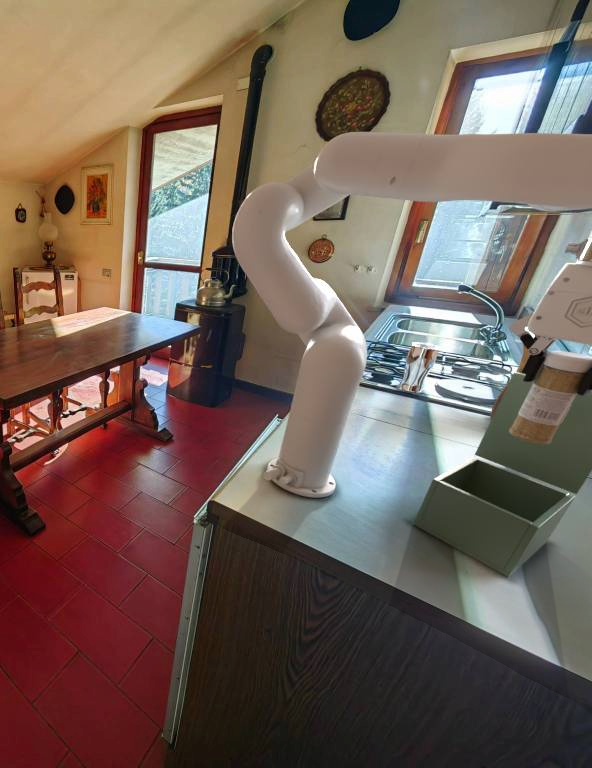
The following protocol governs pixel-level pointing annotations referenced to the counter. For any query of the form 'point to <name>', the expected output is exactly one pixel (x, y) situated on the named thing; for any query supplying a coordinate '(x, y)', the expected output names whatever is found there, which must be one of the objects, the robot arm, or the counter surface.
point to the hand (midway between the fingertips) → (556, 385)
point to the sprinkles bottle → (551, 396)
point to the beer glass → (418, 366)
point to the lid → (542, 461)
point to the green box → (492, 513)
